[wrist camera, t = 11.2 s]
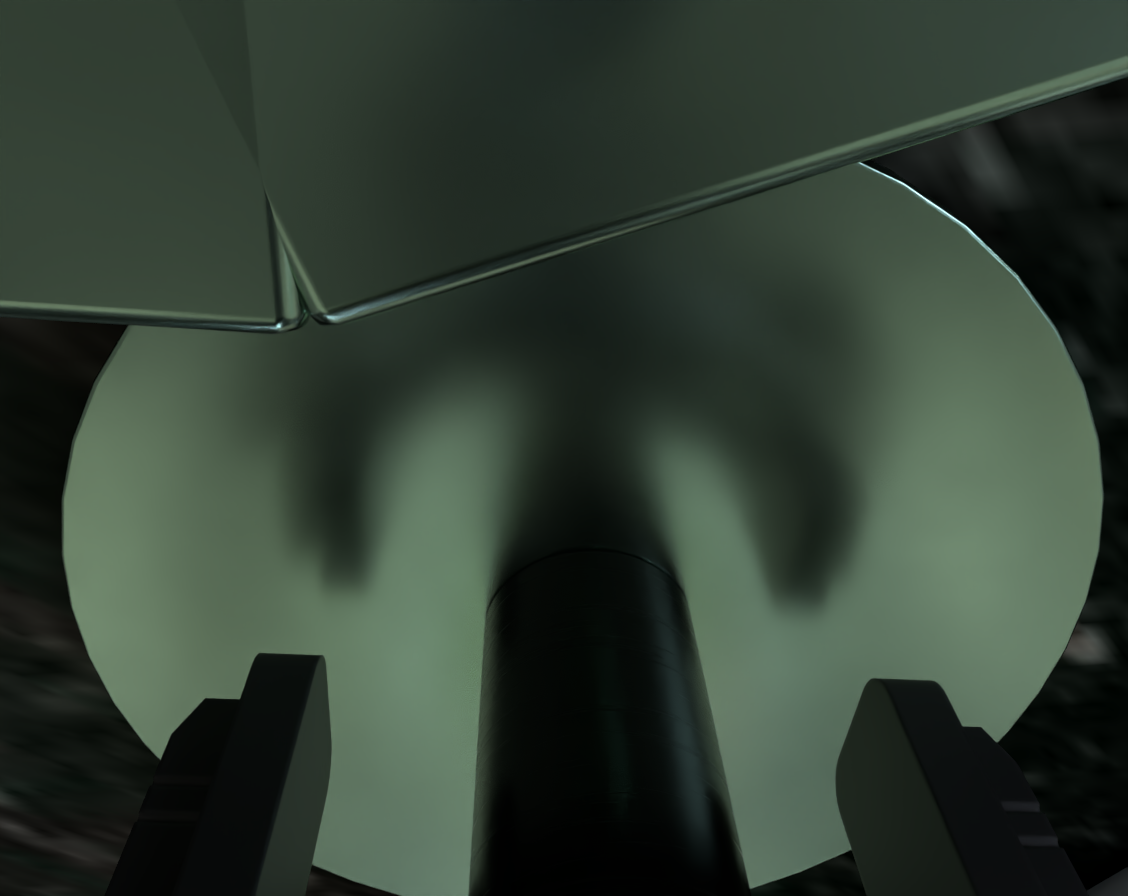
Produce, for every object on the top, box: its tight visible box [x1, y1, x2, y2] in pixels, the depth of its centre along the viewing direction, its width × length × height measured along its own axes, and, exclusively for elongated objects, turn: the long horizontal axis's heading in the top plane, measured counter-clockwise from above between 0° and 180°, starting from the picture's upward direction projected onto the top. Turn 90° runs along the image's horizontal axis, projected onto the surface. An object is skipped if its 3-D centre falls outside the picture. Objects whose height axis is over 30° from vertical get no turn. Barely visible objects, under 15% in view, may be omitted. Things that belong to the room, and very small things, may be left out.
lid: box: [61, 160, 1104, 896], centre depth 10 cm, size 14×14×7 cm
